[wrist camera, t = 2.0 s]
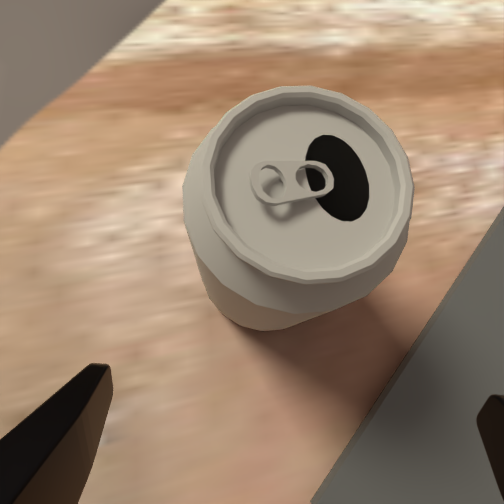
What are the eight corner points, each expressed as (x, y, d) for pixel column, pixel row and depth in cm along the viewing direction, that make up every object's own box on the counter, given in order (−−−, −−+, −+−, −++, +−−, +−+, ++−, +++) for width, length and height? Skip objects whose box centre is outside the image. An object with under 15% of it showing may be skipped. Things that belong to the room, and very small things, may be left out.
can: (341, 314, 21) (482, 270, 10) (216, 346, 20) (206, 339, 9) (306, 199, 23) (389, 45, 11) (190, 223, 22) (152, 81, 10)
